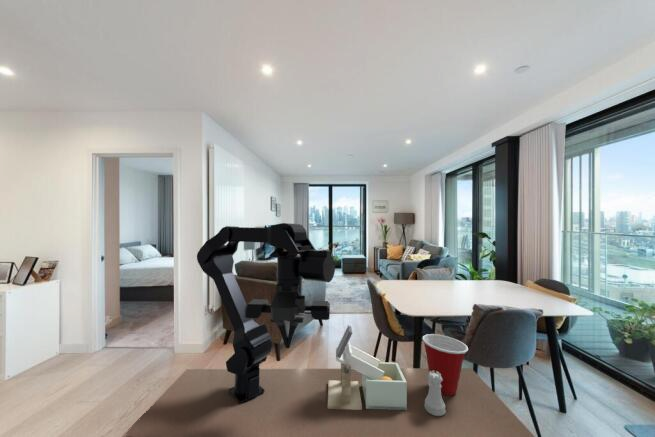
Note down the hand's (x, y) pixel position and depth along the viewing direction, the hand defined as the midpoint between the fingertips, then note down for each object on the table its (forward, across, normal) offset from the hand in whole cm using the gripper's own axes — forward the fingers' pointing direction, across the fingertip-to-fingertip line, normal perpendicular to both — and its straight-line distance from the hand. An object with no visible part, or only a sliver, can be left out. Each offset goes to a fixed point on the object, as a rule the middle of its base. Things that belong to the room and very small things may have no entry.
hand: (287, 347), depth 61 cm
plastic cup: (+13, +39, +9) cm, 42 cm away
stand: (+13, +13, +5) cm, 19 cm away
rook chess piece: (+13, +33, +1) cm, 36 cm away
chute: (+6, +16, +5) cm, 18 cm away
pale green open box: (+13, +22, +5) cm, 26 cm away
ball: (+10, +23, +5) cm, 26 cm away
